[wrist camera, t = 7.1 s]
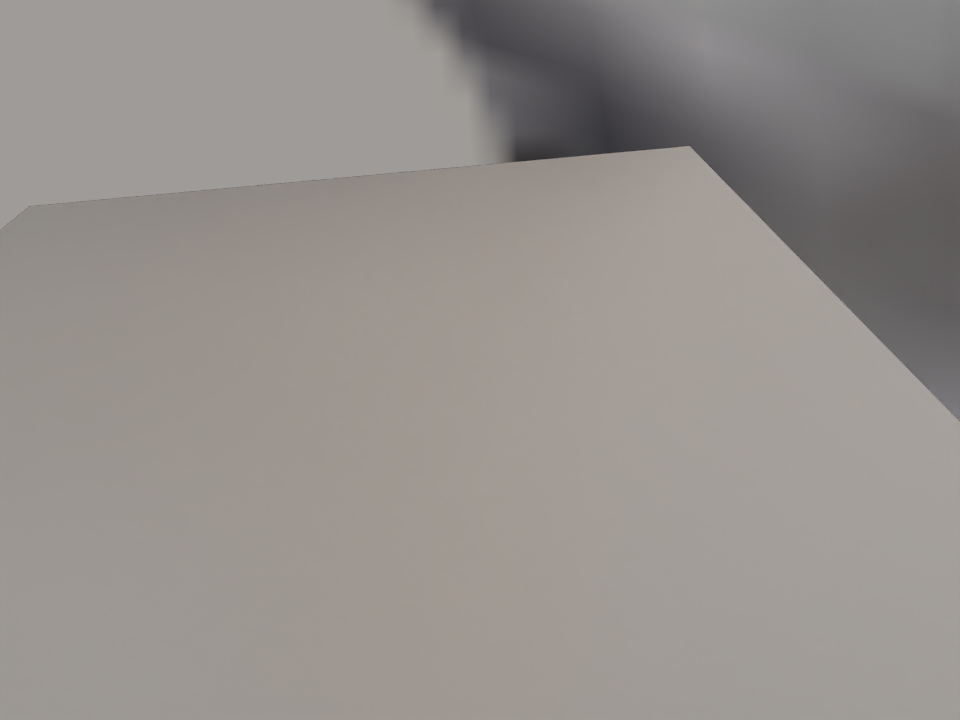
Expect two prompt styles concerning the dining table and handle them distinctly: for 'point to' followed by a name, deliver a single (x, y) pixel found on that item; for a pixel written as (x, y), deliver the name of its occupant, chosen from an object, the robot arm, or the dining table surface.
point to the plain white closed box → (461, 459)
